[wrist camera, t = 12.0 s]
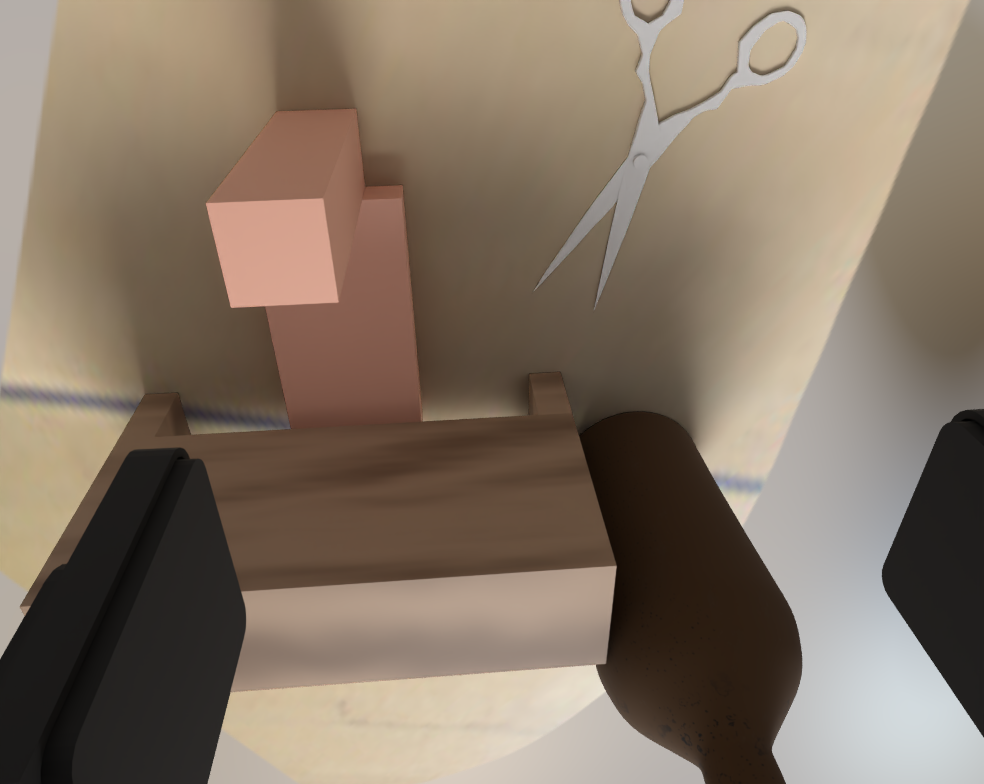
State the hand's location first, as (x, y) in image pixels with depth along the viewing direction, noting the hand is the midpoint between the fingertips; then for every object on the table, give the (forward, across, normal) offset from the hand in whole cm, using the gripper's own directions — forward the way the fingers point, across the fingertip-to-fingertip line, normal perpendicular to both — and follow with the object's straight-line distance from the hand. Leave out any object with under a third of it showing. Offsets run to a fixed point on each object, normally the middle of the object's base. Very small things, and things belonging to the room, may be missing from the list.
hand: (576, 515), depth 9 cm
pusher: (+32, +7, +11) cm, 35 cm away
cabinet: (+32, +7, +22) cm, 39 cm away
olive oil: (+32, -11, +26) cm, 43 cm away
